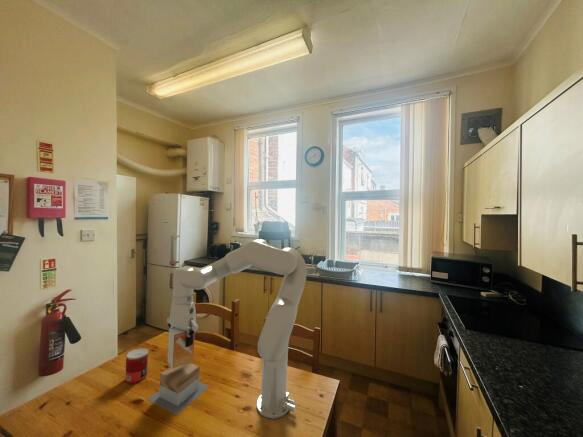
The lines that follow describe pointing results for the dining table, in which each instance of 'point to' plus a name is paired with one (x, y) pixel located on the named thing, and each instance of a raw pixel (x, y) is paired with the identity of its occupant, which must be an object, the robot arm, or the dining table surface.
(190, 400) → the mat
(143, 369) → the canned food
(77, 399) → the dining table surface
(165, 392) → the tower base
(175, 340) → the small box
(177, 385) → the tower top
